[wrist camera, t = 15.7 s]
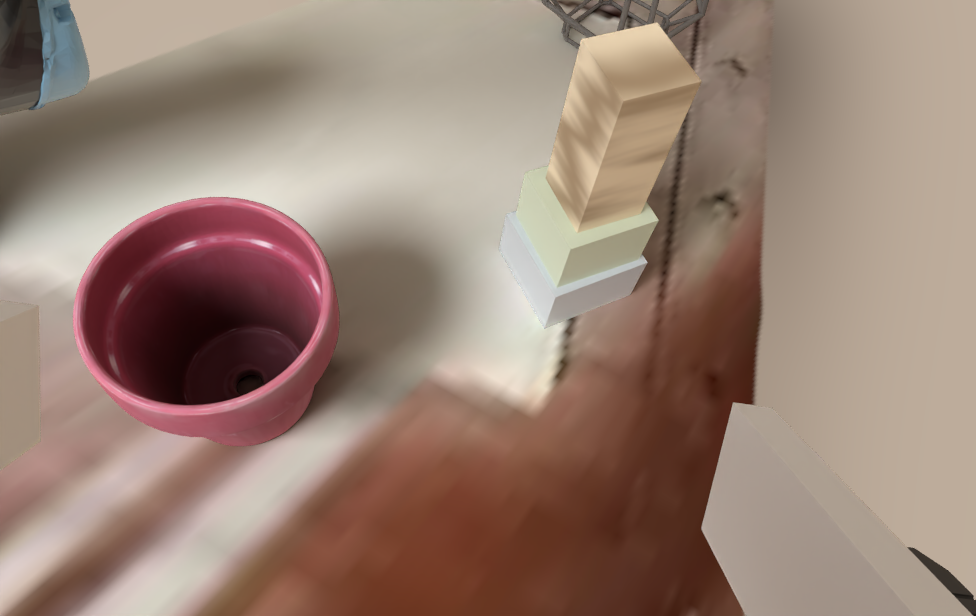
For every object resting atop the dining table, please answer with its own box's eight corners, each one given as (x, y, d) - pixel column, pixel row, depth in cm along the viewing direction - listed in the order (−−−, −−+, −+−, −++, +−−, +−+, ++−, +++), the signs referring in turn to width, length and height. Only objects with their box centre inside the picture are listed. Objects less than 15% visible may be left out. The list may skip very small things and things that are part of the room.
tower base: (498, 250, 59) (506, 213, 55) (581, 221, 62) (595, 184, 57) (543, 329, 56) (555, 297, 52) (629, 296, 59) (647, 262, 54)
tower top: (515, 214, 55) (525, 172, 51) (594, 190, 57) (610, 147, 53) (556, 288, 52) (570, 249, 48) (638, 259, 54) (658, 220, 50)
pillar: (545, 178, 51) (581, 39, 40) (607, 161, 52) (657, 22, 42) (576, 233, 49) (623, 100, 38) (640, 213, 50) (701, 81, 40)
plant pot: (100, 381, 50) (15, 286, 39) (265, 267, 56) (232, 156, 45) (226, 529, 46) (171, 470, 35) (389, 390, 52) (386, 302, 41)
